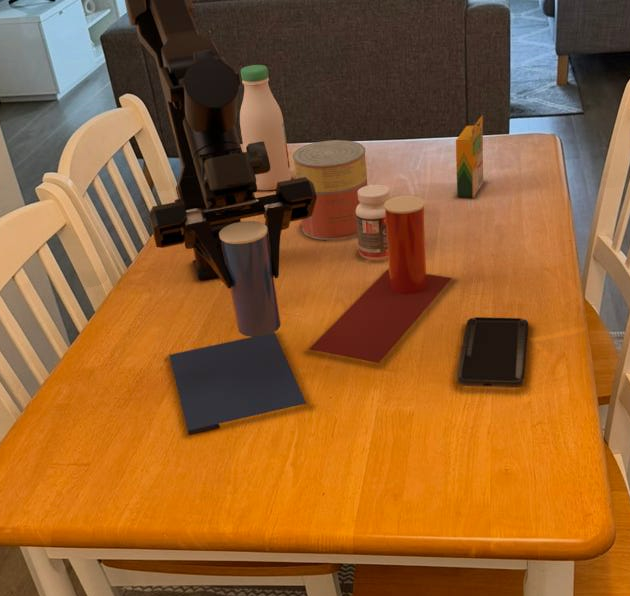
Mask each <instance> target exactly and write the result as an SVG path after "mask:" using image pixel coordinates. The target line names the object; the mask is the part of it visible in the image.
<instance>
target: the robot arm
mask: <svg viewBox="0 0 630 596" xmlns="http://www.w3.org/2000/svg"><path fill="white" fill-rule="evenodd" d="M124 4H125V8H126V13H127V17H128V21H129V25H130V26H131V27H135V30H136V33H137V37H138V41H139V43H141V45H142V46H143V47H144V48H145V49H146V50H147V51H148V53H149V54H150V55H151V56H152V57H153V58H154V60H155V63H156V67H157V72H158V75H159V80H160V83H161V84H160V85H161V88H162V92H163V96H164V100H165V105H166V109H167V113H168V116H169V122H170V125H171V129H172V133H173V137H174V141H175V146H176V150H177V154H178V158H179V163H180V167H181V169H180V171H179V175H178V180H177V183H176V185H175V191H176V196H177V199H174V202H169V203H164V204H159V205H154V206H152V207H151V209H150V211H149V213H148V214H149V221H150V226H151V231H152V234H153V238H154V242H155V246H156V248H160V249H163V248H169V247H173V246H178V245H182V244H184V247H185V249H187V250H192V249H193V255H194V259H193V260H192V266H193V268H194V272H195V274H196V278H197V280H199V281H202V280H208V279H212V278H218V277H219V279H220V281H222V283H223V284H224V286H225V287H226V288H227V289H229V290H230V288H231V281H230V277H229V274H228V271H227V268H226V265H225V259H224V254H223V249H222V244H221V239H220V238H219V232H220V230H221V229H223V228H224V227H226V226H228V225H230V224H233V223H237V222H242V219H248V218H253V217H258V216H262V215H263V217H264V224H265V225H266V226H267V229H268V232H267V235H268V241H269V248H270V254H271V261H272V268H273V274H274V279H279V275H280V253H281V251H280V249H281V246H280V245H281V236H282V235H281V234H282V231H285V230H287V229H289V227H290V224H291V223H292V222H295V221H296V222H297V221H302V219H306V218H309V217H310V216H312V214H313V210H314V206H315V203H316V199H317V195H316V192H315V188H314V185H313V183H312V182H311V181H310V180H309V179H307V178H306V177H303V178H298V179H296V178H293V179H292V178H291V180H287V181H282V182H277V188H276V189H275V193H273V194H269V195H264V196H259V197H256V196H255V193H257V192H258V190H257V184H256V176H255V175H258V174H263V173H267V172H269V171H270V162H269V158H268V153H267V150H266V147H265V144H264V141H261V142H256V143H251V144H248V146H247V147H246V150H247V152H244V151H243V149H242V146H241V142H240V138H239V136H238V131H237V128H236V123H237V120H238V110H239V109H238V107H239V93H240V92H239V91H240V86H241V80H240V74H239V72H237V71H236V70H235V68H233V67H232V65H231V64H229V62H228V60H227V58H226V57H222V56H221V54H220V52H219V50H218V48H217V46H216V44H215V42H214V41H213V40H212V39H210V38H208V37H205V36H203V35H201V34H200V33H199V31H198V29H197V26H196V24H195V21H194V19H193V15H194V12H195V7H194V3H193V0H124Z"/></svg>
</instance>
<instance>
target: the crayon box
mask: <svg viewBox="0 0 630 596" xmlns="http://www.w3.org/2000/svg"><path fill="white" fill-rule="evenodd" d="M483 123H484V115H483V114H482V115H481V116H480V117H479V119H477V121H476V123H474V125H466V126H465V128H464V129H463V130H462V131H461V133H460V134H459V136H457V138H456V140H455V160H456V162H455V164H456V193H457V195H456V196H457V198H459V199H460V198H461V199H474V198H475V196H476V194H477V193H478V191H479V190H480V188H481V187H482V185H483V184H484V136H483V135H484V132H483V131H484V130H483V127H484V124H483Z"/></svg>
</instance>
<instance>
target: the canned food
mask: <svg viewBox="0 0 630 596" xmlns="http://www.w3.org/2000/svg"><path fill="white" fill-rule="evenodd" d="M292 159H293V164H294V172H295V179H298V178H303V177H306V178H307V179H309V180H310V181H311V182H312V183H313V185H314V188H315V192H316V195H317V199H316V203H315V206H314V210H313V214H312V216H310V217H309V218H306V219H301V225H302V226H301V231H302V233H303V234H304V235H305V236H307V237H309V238H311V239H315V240H320V241H331V240H337V239H341V238H346V237H352V236H358V234H357V222H356V208H357V206H358V205H359V204H360V202H359V200H358V190H359V189H360V188H362V187H365V186H368V185H369V184H368V175H367V174H368V173H367V163H366V147H365V146H364V145H363V144H362V143H360V142H356V141H354V140H353V141H352V140H345V139H331V140H322V141H316V142H313V143H309V144H306V145H303V146H301V147H299V148H298V149H296V150H295V151H294V152H293V154H292Z"/></svg>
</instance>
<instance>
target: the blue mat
mask: <svg viewBox="0 0 630 596" xmlns="http://www.w3.org/2000/svg"><path fill="white" fill-rule="evenodd" d="M168 356H169V360H170V364H171V368H172V373H173V375H174V381H175V383H176V384H175V386H176V389H177V392H178V396H179V397H178V398H179V400H180V404H181V405H180V406H181V409H182V413H183V418H184V421H185V426H186V430H187V434H188V435H192V434H197V433H201V432H206V431H211V430H215V429H219V428H221V426H220V424H224V423H228V422H233V421H236V420H241V419H245V418H249V417H254V416H259V415H262V414H268V413H271V412H275V411H280V410H284V409H285V410H286V409H289V408H293V407H299V406H302V405H306V404H307V402H306V399H305V397H304V395H303V393H302V390H301V388H300V386H299V384H298V382H297V379H296V377H295V375H294V372H293V370H292V368H291V366H290V364H289V362H288V359H287V357H286V355H285V353H284V351H283V348H282V346H281V344H280V342H279V339H278V337H277V335H276V333H275V332H273V333H271V334H269V335H265V336H260V337H247V338H240V339H237V340H231V341H227V342H222V343H217V344H212V345H208V346H204V347H199V348H195V349H190V350H186V351H181V352H177V353H171V354H169V355H168Z"/></svg>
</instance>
